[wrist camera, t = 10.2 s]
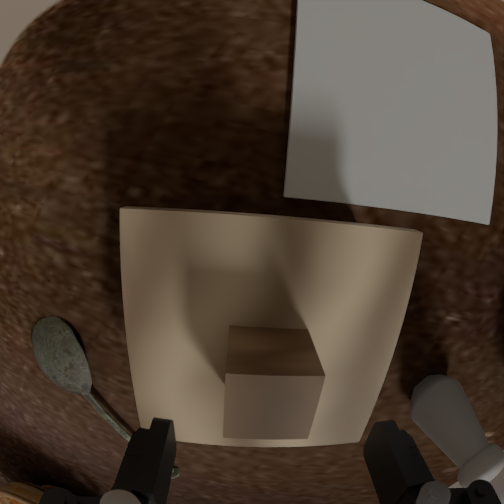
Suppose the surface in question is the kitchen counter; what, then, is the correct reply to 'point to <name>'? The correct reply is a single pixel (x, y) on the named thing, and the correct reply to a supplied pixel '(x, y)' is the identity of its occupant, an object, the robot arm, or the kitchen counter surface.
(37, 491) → the ceramic bowl
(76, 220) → the kitchen counter surface
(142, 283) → the lid
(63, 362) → the soupspoon
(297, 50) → the tray
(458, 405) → the salt shaker
